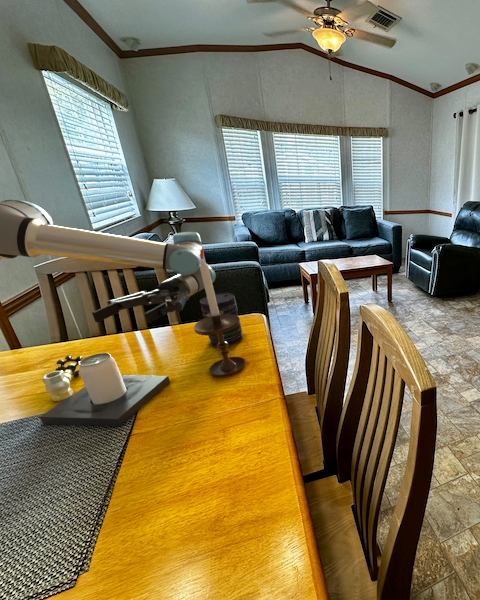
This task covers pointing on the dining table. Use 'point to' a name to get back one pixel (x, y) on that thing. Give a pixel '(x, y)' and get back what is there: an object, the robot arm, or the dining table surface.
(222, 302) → the storage jar
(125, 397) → the plate
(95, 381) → the can
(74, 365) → the valve
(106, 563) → the dining table surface
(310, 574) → the dining table surface
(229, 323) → the candlestick
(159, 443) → the dining table surface
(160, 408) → the dining table surface
